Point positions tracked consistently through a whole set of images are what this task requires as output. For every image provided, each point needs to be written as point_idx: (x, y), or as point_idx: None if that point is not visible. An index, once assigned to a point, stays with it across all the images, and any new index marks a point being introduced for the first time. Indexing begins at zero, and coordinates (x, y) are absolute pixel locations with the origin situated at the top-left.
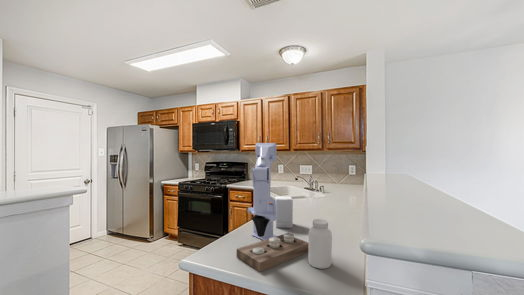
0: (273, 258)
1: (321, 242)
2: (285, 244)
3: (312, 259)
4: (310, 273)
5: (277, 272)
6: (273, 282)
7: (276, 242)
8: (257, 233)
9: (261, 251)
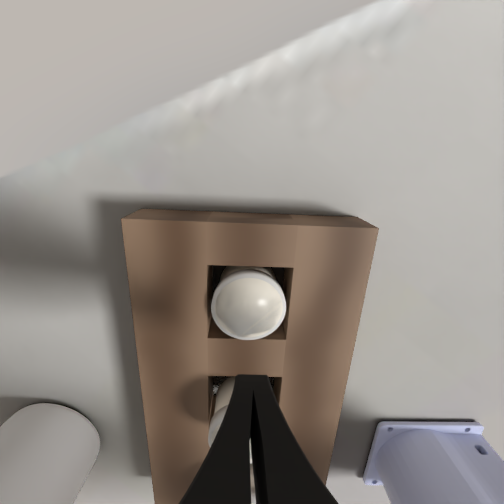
0: (134, 313)
1: None
2: None
3: (23, 429)
4: (10, 360)
5: (90, 268)
6: (20, 193)
7: (211, 423)
8: (266, 390)
9: (221, 309)
